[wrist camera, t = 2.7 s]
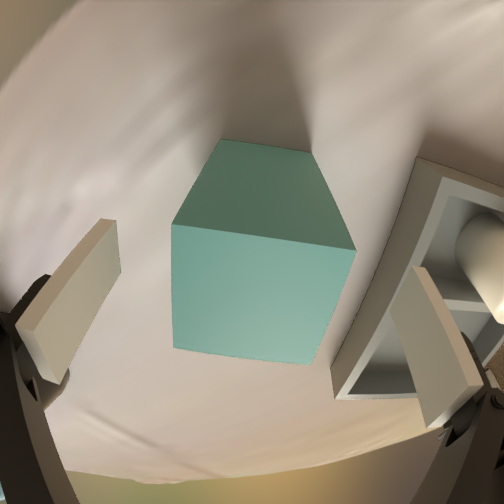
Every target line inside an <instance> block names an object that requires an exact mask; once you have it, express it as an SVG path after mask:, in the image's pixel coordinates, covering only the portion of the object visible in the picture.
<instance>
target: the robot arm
mask: <svg viewBox="0 0 504 504" xmlns="http://www.w3.org/2000/svg"><path fill="white" fill-rule="evenodd" d="M120 273H121V266H120V257H119V248H118V237H117V226H116V220H109V219H100V220H99V221H98V222H97V223H96V224H95V225H94V226H93V228H92V229H91V230H90V231H89V232H88V233H87V234H86V235H85V237H84V238H83V239H82V240H81V241H80V242H79V243H78V245H77V246H76V247H75V248H74V249H73V250H72V252H71V253H70V254H69V255H68V256H67V257H66V259H65V260H64V261H63V262H62V264H61V265H60V266H59V267H58V268H57V270H56V271H55V272H54V273H53V275H52V276H51V275H47V274H45V275H43V276H42V277H40V278H39V279H37V280H36V281H35V282H34V283H33V284H32V285H31V287H30V288H29V289H28V292H26V293H25V294H24V295H23V297H22V300H21V299H20V301H19V302H18V303H17V305H16V306H15V307H14V309H13V310H12V311H11V313H10V314H9V315H8V314H5V313H1V312H0V500H4V499H6V502H7V504H80V503H79V501H78V499H77V497H76V495H75V493H74V490H73V488H72V486H71V484H70V482H69V479H68V477H67V474H66V472H65V470H64V467H63V465H62V462H61V460H60V457H59V455H58V452H57V449H56V446H55V444H54V441H53V438H52V435H51V432H50V429H49V426H48V423H47V420H46V417H45V413H44V410H45V409H46V408H47V407H48V406H49V405H50V404H51V403H52V402H53V401H54V400H55V399H56V398H57V397H58V396H59V395H60V394H61V393H62V392H63V391H64V389H65V387H66V384H67V382H68V380H69V370H68V367H69V365H70V363H71V361H72V359H73V357H74V355H75V353H76V351H77V349H78V347H79V345H80V344H81V342H82V340H83V338H84V336H85V334H86V332H87V330H88V329H89V327H90V325H91V323H92V321H93V319H94V318H95V316H96V314H97V312H98V311H99V309H100V307H101V305H102V304H103V302H104V300H105V298H106V297H107V295H108V293H109V291H110V290H111V288H112V286H113V285H114V283H115V281H116V280H117V278H118V276H119V275H120ZM390 313H391V315H392V318H393V321H394V324H395V326H396V329H397V332H398V335H399V338H400V341H401V344H402V347H403V350H404V353H405V356H406V359H407V362H408V365H409V369H410V372H411V375H412V378H413V382H414V385H415V388H416V392H417V395H418V399H419V403H420V406H421V410H422V414H423V417H424V421H425V425H426V428H432V427H440V426H442V425H443V424H444V423H446V422H447V421H448V420H449V419H450V418H451V421H452V425H451V426H450V427H449V428H448V429H446V430H445V431H444V432H443V433H442V434H441V435H440V436H439V437H438V438H437V440H440V439H441V438H442V437H443V436H445V437H444V439H443V441H442V444H441V446H440V448H439V450H438V452H437V454H436V457H435V459H434V461H433V462H432V465H431V467H430V469H429V470H428V472H427V474H426V476H425V478H424V480H423V482H422V484H421V485H420V487H419V489H418V491H417V493H416V494H415V496H414V498H413V500H412V501H411V503H410V504H504V393H503V392H502V391H501V390H500V389H497V388H492V387H491V384H490V382H489V380H488V377H487V375H486V373H485V370H484V368H483V366H482V364H481V362H480V360H479V357H478V355H477V353H476V352H475V349H474V347H473V345H472V343H471V341H470V339H469V338H468V337H467V336H466V335H465V334H464V333H463V332H460V331H459V329H458V327H457V325H456V323H455V321H454V319H453V317H452V315H451V313H450V311H449V309H448V307H447V306H446V304H445V302H444V300H443V298H442V296H441V295H440V293H439V291H438V289H437V287H436V286H435V284H434V282H433V280H432V279H431V277H430V275H429V273H428V272H427V270H426V268H425V267H419V266H413V265H412V266H411V268H410V270H409V272H408V275H407V277H406V279H405V281H404V283H403V285H402V287H401V289H400V291H399V293H398V295H397V297H396V299H395V301H394V303H393V305H392V307H391V309H390Z"/></svg>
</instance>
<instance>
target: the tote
mask: <svg viewBox="0 0 504 504" xmlns="http://www.w3.org/2000/svg"><path fill="white" fill-rule="evenodd" d="M483 213H492V214H495V215H497V216H498V217H499V218H500V219H501V220H502V221H503V222H504V188H502V187H499V186H497V185H495V184H492V183H490V182H487V181H484V180H482V179H479V178H477V177H474V176H471V175H469V174H466V173H463V172H460V171H458V170H455V169H452V168H449V167H446V166H443V165H440V164H437V163H434V162H431V161H428V160H425V159H422V158H418V157H416V161H415V164H414V167H413V170H412V174H411V177H410V180H409V183H408V186H407V189H406V192H405V195H404V198H403V201H402V204H401V207H400V210H399V213H398V216H397V218H396V221H395V224H394V227H393V229H392V232H391V235H390V237H389V240H388V243H387V245H386V248H385V250H384V253H383V255H382V258H381V260H380V263H379V265H378V268H377V270H376V272H375V275H374V277H373V280H372V282H371V284H370V287H369V289H368V291H367V293H366V296H365V298H364V300H363V302H362V305H361V307H360V309H359V311H358V313H357V316H356V318H355V320H354V322H353V324H352V326H351V328H350V330H349V332H348V335H347V337H346V339H345V341H344V343H343V345H342V347H341V349H340V351H339V353H338V355H337V357H336V358H335V360H334V362H333V364H332V366H331V368H330V370H331V377H332V384H333V391H334V399H344V400H368V399H401V398H418V395H417V392H416V388H415V385H414V382H413V378H412V375H411V372H410V369H409V365H408V362H407V359H406V356H405V353H404V350H403V347H402V344H401V341H400V338H399V335H398V332H397V329H396V326H395V324H394V321H393V318H392V315H391V313H390V309H391V307H392V305H393V303H394V301H395V299H396V297H397V295H398V293H399V291H400V289H401V287H402V285H403V283H404V281H405V279H406V277H407V275H408V272H409V270H410V268H411V266H412V265H413V266H419V267H425V268H426V270H427V272H428V273H429V275H430V277H431V279H432V280H433V282H434V284H435V286H436V287H437V289H438V291H439V293H440V295H441V296H442V298H443V300H444V302H445V304H446V306H447V307H448V309H449V311H450V313H451V315H452V317H453V319H454V321H455V323H456V325H457V327H458V329H459V331H460V332H463V333H464V334H465V335H466V336H467V337H468V338H469V339H470V341H471V343H472V345H473V347H474V349H475V352H476V353H477V355H478V357H479V360H480V362H481V364H482V366H483V368H484V366H485V365H486V364H487V363H488V361H489V360H490V359H491V358H492V357H493V355H494V354H495V353H496V351H497V350H498V349H499V348H500V346H501V345H502V344H503V342H504V324H500V323H498V322H497V321H496V319H495V318H494V316H493V315H492V313H491V312H490V310H489V308H488V307H487V305H486V304H485V302H484V301H483V299H482V298H481V296H480V295H479V293H478V292H477V290H476V289H475V287H474V286H473V284H472V283H471V282H470V280H469V279H468V277H467V276H466V274H465V273H464V272H463V270H462V269H461V267H460V266H459V265H458V263H457V262H456V259H455V253H454V251H455V244H456V241H457V238H458V236H459V234H460V232H461V231H462V229H463V228H464V226H465V225H466V224H467V223H468V222H469V221H470V220H472V219H473V218H474V217H476V216H478V215H480V214H483Z"/></svg>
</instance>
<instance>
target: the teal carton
mask: <svg viewBox="0 0 504 504" xmlns="http://www.w3.org/2000/svg"><path fill="white" fill-rule="evenodd" d="M355 254H356V248H355V246H354V243H353V241H352V239H351V236H350V234H349V232H348V229H347V227H346V225H345V223H344V220H343V218H342V216H341V214H340V211H339V209H338V207H337V205H336V202H335V200H334V198H333V196H332V194H331V192H330V190H329V187H328V185H327V183H326V181H325V179H324V177H323V175H322V173H321V171H320V169H319V167H318V165H317V163H316V161H315V159H314V157H313V155H312V153H309V152H303V151H298V150H292V149H286V148H280V147H274V146H268V145H261V144H254V143H247V142H240V141H232V140H224V139H221V140H220V141H219V143H218V145H217V146H216V148H215V150H214V151H213V153H212V154H211V156H210V158H209V159H208V161H207V163H206V164H205V166H204V168H203V169H202V171H201V173H200V174H199V176H198V178H197V180H196V181H195V183H194V185H193V186H192V188H191V190H190V192H189V193H188V195H187V197H186V199H185V200H184V202H183V204H182V206H181V208H180V209H179V211H178V213H177V215H176V217H175V218H174V220H173V222H172V224H171V290H172V324H173V346H174V348H177V349H183V350H189V351H195V352H202V353H208V354H215V355H222V356H229V357H237V358H245V359H253V360H262V361H271V362H281V363H292V364H304V365H311V363H312V361H313V359H314V357H315V354H316V352H317V350H318V347H319V345H320V343H321V341H322V338H323V336H324V334H325V331H326V329H327V326H328V324H329V322H330V319H331V317H332V314H333V312H334V309H335V307H336V304H337V302H338V299H339V297H340V294H341V292H342V289H343V287H344V284H345V281H346V279H347V276H348V273H349V271H350V268H351V265H352V262H353V260H354V257H355Z"/></svg>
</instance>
